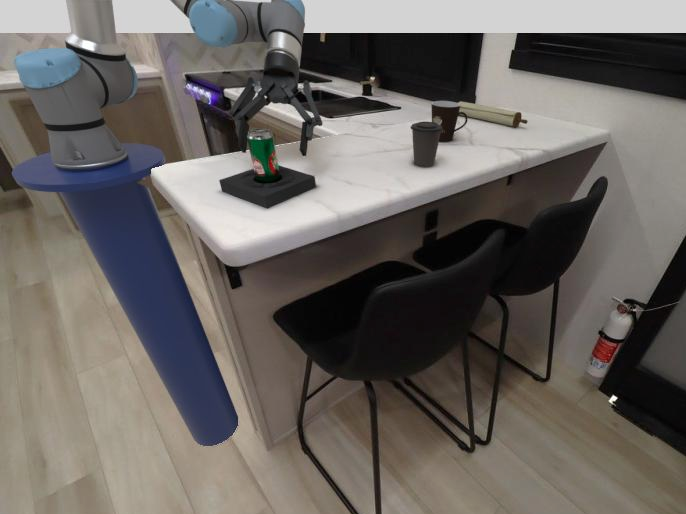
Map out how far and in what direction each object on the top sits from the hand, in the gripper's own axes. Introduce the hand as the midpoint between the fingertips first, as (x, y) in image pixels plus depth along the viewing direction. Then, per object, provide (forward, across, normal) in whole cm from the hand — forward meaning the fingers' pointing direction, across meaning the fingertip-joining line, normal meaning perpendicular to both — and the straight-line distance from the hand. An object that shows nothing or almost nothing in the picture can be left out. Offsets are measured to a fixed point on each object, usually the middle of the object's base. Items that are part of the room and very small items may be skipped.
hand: (272, 151), depth 83 cm
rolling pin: (-44, -56, -53) cm, 89 cm away
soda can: (+8, 0, -1) cm, 8 cm away
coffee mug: (-24, -40, -33) cm, 57 cm away
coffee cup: (-7, -34, -17) cm, 38 cm away
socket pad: (+8, 0, -1) cm, 8 cm away
